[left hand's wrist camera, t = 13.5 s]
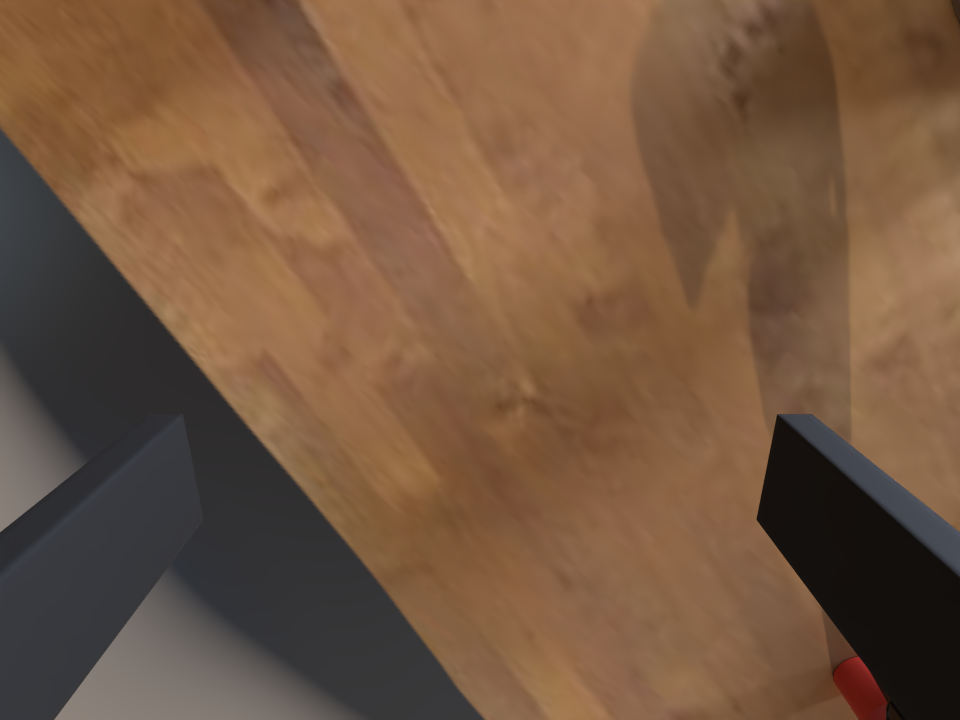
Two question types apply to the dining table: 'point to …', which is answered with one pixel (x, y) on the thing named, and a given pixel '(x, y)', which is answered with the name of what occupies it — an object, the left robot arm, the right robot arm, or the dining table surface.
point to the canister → (860, 690)
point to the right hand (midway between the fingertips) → (868, 692)
